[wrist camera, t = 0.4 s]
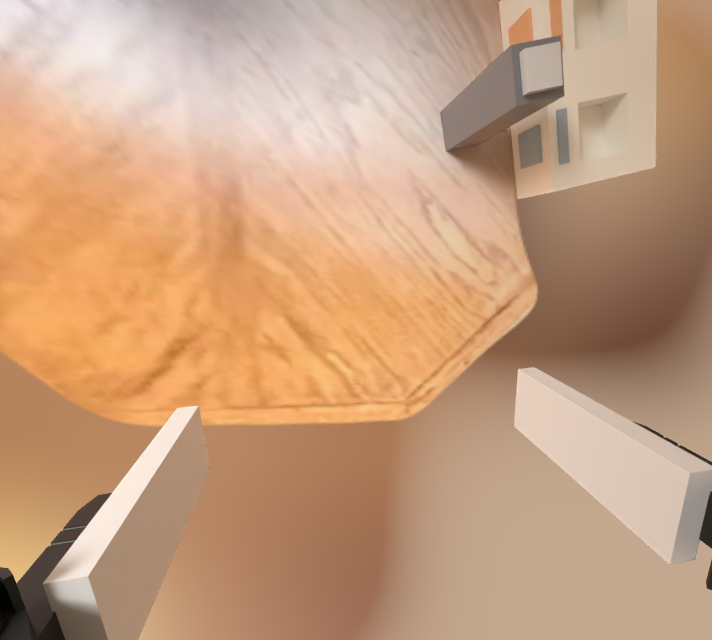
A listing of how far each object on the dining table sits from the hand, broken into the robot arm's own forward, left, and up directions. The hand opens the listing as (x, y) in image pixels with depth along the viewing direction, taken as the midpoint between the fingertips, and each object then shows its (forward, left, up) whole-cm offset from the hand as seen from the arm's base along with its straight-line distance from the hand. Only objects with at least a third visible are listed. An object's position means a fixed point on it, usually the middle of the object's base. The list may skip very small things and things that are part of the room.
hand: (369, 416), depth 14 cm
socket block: (-16, +31, -27) cm, 44 cm away
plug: (-15, +19, -27) cm, 37 cm away
